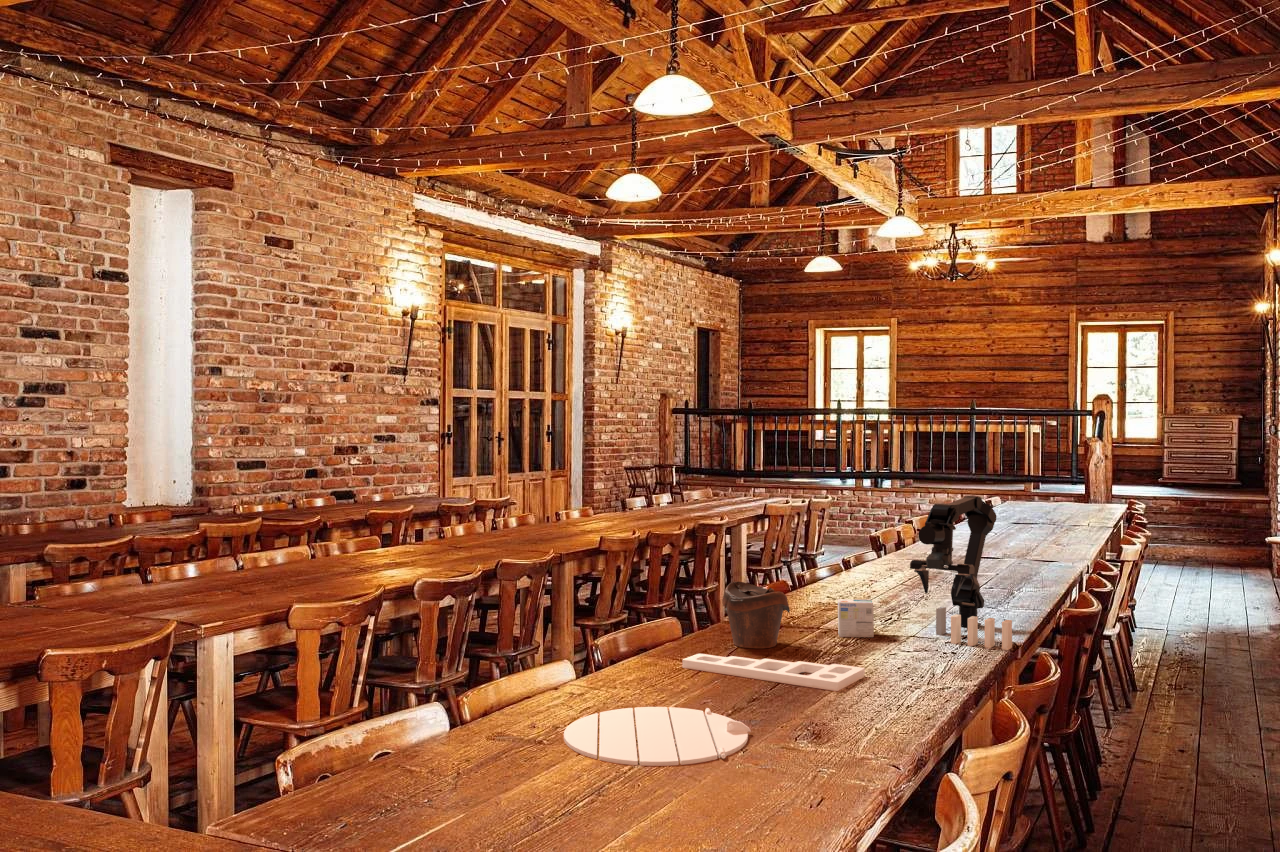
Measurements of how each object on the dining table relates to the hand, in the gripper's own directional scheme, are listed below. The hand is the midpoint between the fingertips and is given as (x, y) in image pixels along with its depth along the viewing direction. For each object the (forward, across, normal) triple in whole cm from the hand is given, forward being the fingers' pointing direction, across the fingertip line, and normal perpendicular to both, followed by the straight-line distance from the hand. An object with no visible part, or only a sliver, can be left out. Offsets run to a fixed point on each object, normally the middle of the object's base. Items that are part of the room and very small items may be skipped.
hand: (940, 594), depth 333 cm
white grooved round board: (+24, -14, -135) cm, 138 cm away
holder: (+19, -20, -71) cm, 77 cm away
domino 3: (+13, +13, -9) cm, 20 cm away
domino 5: (+13, +23, -9) cm, 28 cm away
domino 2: (+13, +8, -8) cm, 17 cm away
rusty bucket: (+16, -40, -44) cm, 62 cm away
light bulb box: (+14, -21, -15) cm, 30 cm away
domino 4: (+13, +18, -9) cm, 24 cm away
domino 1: (+12, 0, +2) cm, 12 cm away
